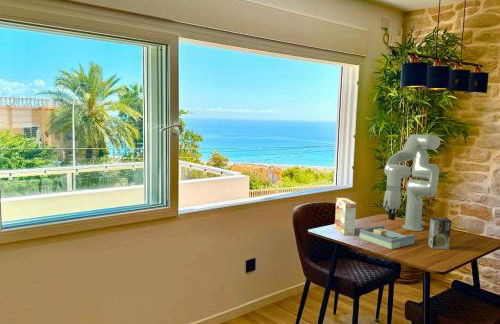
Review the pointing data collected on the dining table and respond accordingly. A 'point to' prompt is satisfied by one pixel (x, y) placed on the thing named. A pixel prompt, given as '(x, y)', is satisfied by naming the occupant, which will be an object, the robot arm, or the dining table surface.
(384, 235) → the maple block
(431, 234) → the coffee box
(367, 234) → the box
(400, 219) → the dining table surface
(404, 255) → the dining table surface
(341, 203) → the coffeecake box
